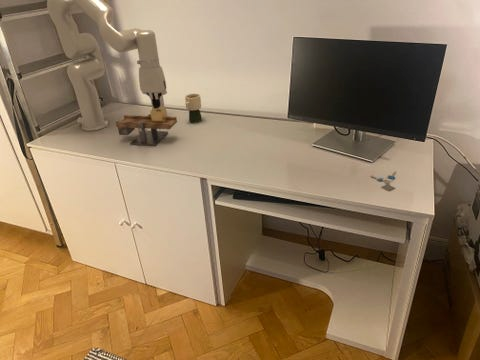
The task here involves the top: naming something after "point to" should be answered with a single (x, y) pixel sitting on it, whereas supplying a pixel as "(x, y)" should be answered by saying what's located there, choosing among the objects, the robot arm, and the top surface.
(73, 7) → the robot arm
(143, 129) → the stand
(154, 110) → the tan block
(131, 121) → the beam
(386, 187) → the key chain
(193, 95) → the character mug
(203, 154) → the top surface
